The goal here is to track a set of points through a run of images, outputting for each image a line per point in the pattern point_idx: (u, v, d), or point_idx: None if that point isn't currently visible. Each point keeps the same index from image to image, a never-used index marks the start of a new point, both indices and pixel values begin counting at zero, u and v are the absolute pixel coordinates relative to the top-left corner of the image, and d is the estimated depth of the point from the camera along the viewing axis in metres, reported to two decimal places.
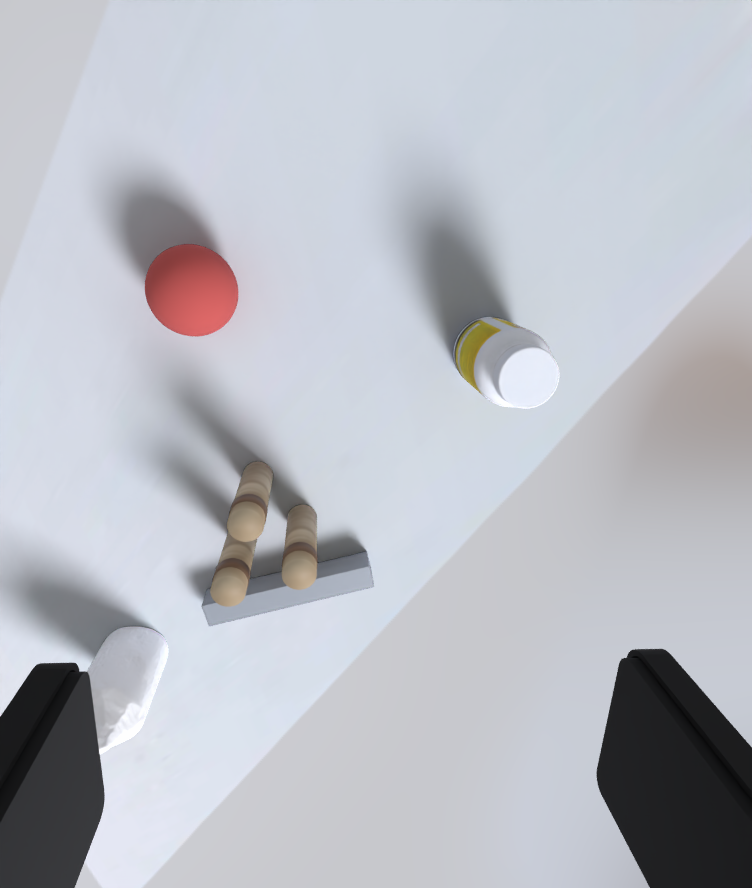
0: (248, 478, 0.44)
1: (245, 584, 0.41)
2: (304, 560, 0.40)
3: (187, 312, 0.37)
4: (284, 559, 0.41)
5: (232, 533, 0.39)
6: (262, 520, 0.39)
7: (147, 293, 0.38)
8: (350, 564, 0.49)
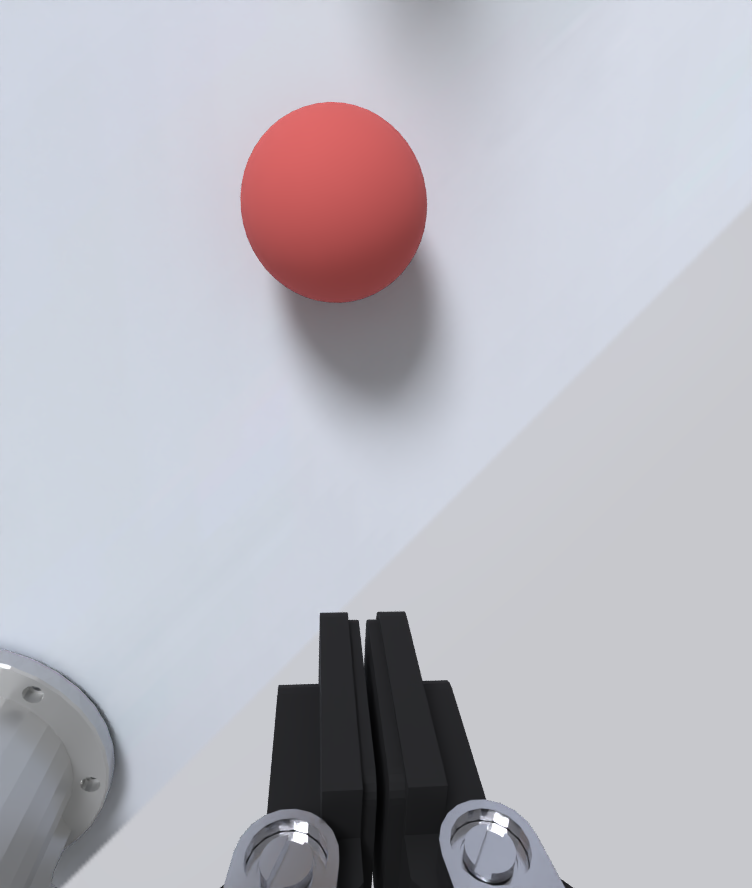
0: None
1: None
2: None
3: (344, 157, 0.16)
4: None
5: None
6: None
7: (417, 226, 0.18)
8: None
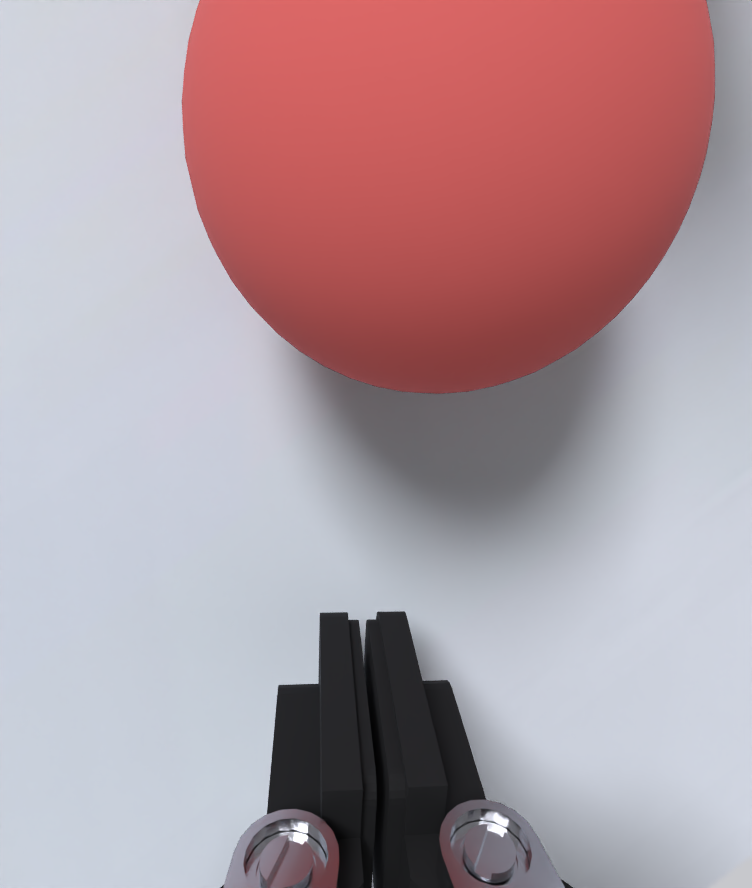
0: None
1: None
2: None
3: None
4: None
5: None
6: None
7: None
8: None
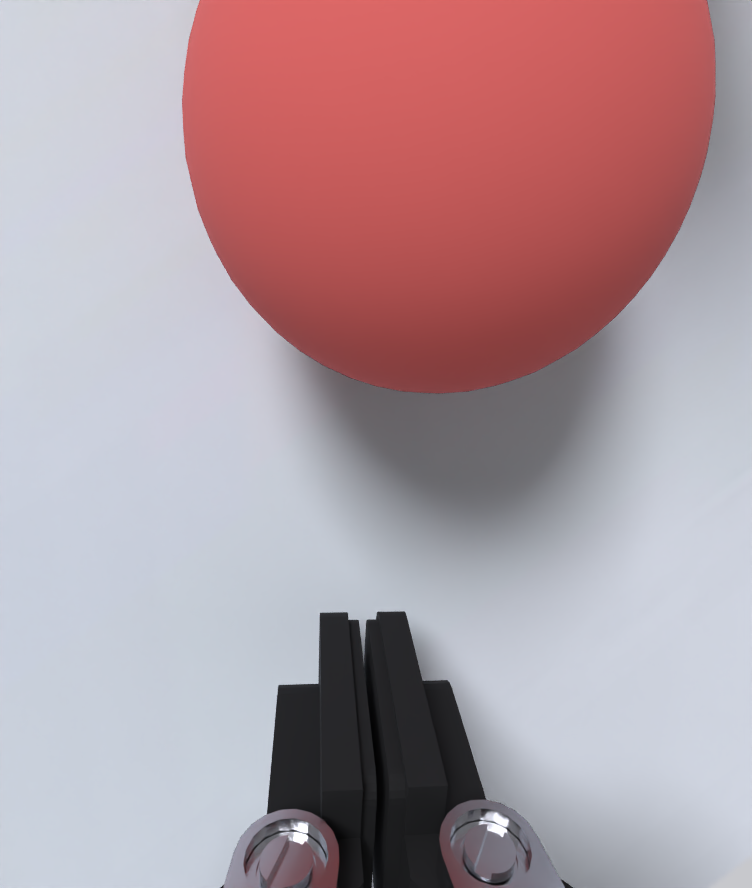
0: None
1: None
2: None
3: None
4: None
5: None
6: None
7: None
8: None
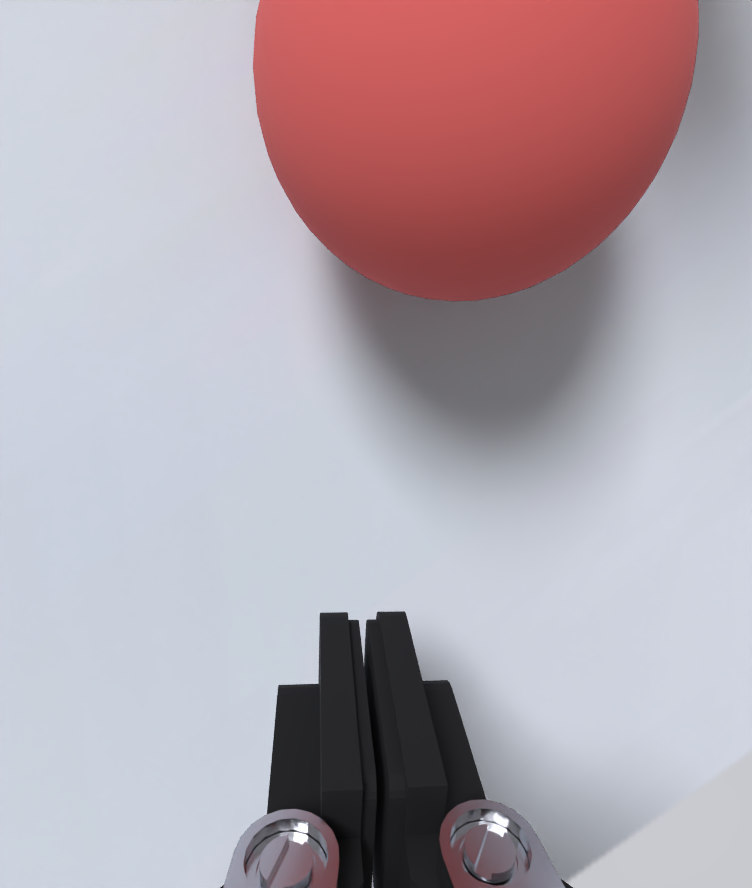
0: None
1: None
2: None
3: None
4: None
5: None
6: None
7: None
8: None
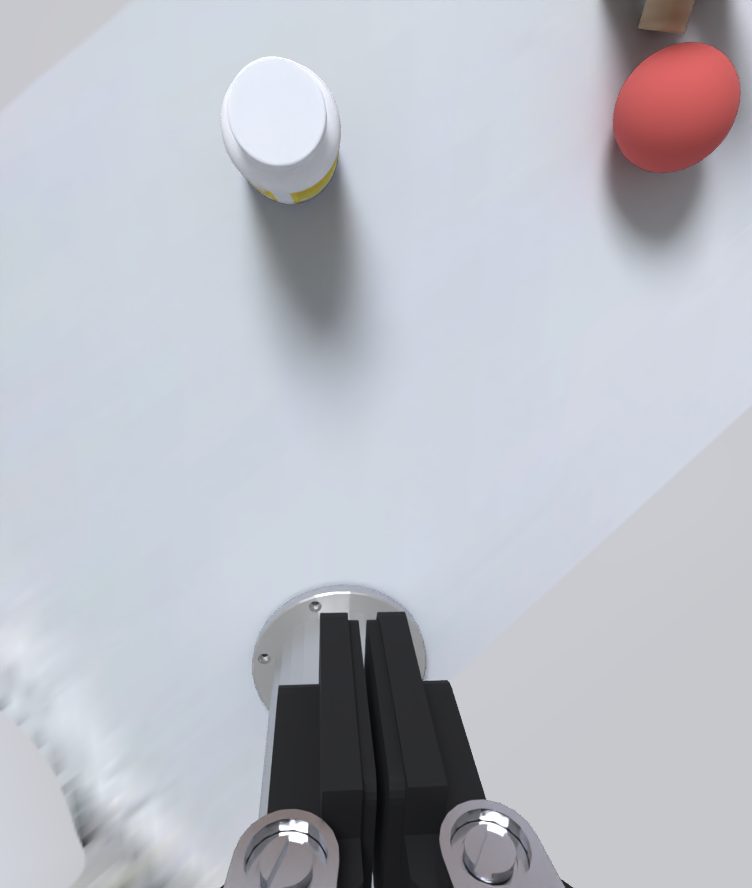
0: None
1: None
2: None
3: None
4: None
5: None
6: None
7: None
8: None
